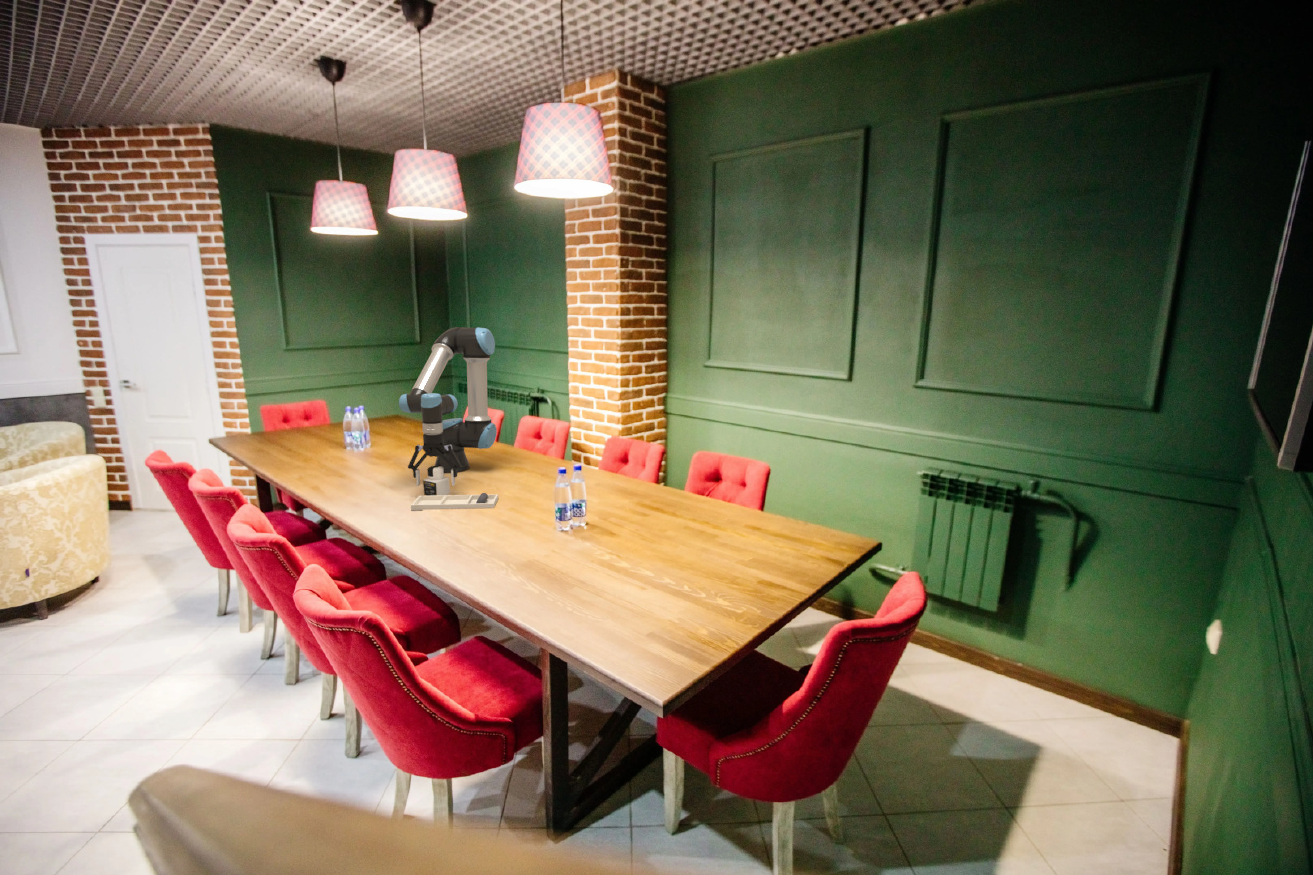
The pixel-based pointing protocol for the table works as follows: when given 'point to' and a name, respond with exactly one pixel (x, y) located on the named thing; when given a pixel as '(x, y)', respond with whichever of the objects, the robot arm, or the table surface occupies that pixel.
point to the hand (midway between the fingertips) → (436, 485)
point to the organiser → (452, 502)
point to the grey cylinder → (482, 498)
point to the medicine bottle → (436, 482)
